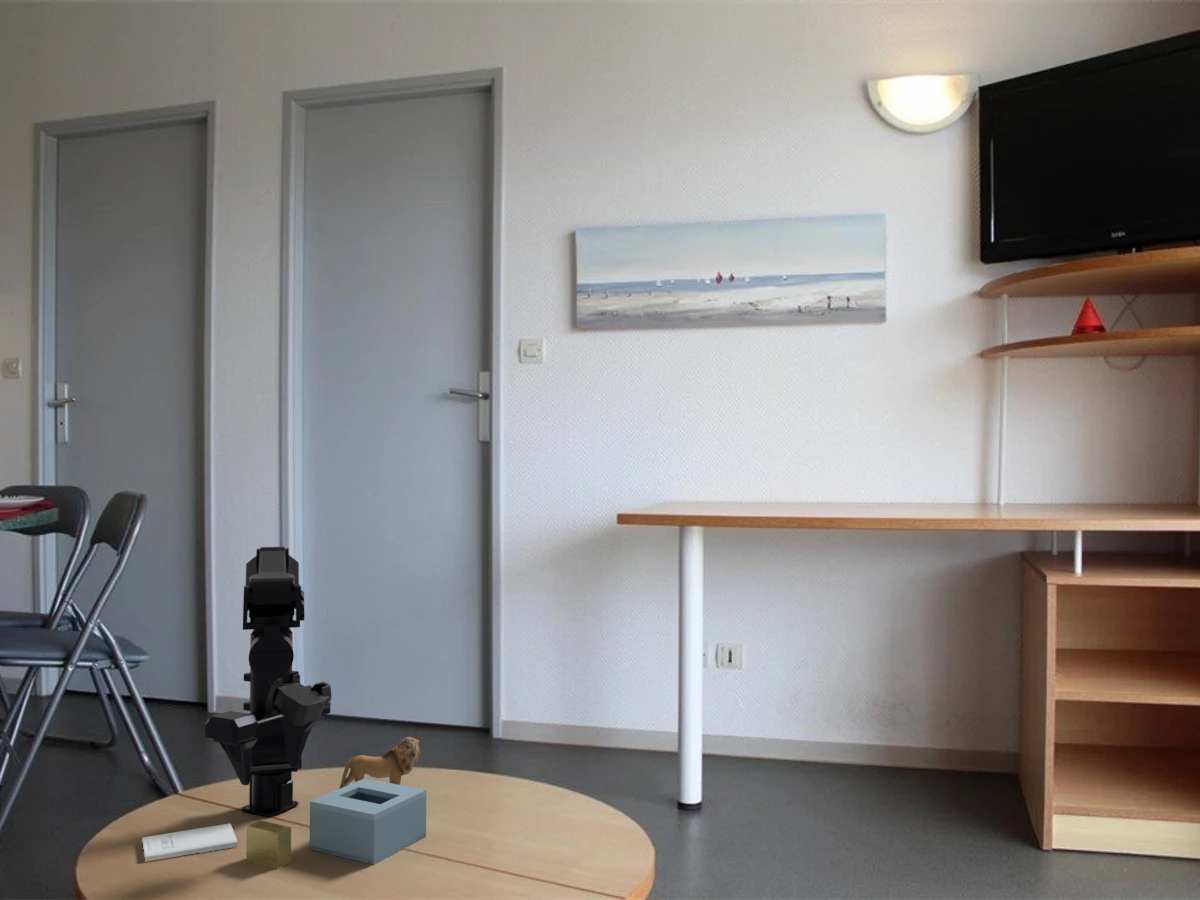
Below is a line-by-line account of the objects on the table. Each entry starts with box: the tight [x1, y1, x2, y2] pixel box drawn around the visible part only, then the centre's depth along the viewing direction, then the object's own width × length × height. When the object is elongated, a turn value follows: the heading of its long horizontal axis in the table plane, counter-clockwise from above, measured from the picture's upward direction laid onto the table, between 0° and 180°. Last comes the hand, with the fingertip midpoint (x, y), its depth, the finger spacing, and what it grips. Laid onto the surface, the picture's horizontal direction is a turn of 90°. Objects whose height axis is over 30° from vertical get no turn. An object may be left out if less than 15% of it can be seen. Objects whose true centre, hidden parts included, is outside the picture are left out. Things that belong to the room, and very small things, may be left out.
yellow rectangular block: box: [245, 820, 292, 869], centre depth 140 cm, size 6×2×5 cm, turn 63°
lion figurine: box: [338, 736, 421, 789], centre depth 169 cm, size 15×5×9 cm, turn 114°
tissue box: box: [309, 777, 427, 865], centre depth 147 cm, size 12×12×7 cm
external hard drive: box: [141, 822, 238, 859], centre depth 146 cm, size 2×8×12 cm
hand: (270, 775), depth 140 cm, fingers open, 9 cm apart
